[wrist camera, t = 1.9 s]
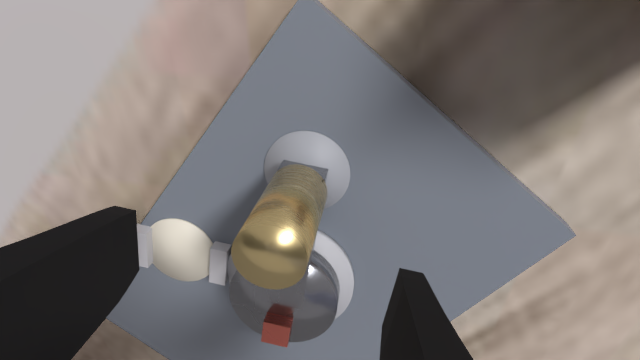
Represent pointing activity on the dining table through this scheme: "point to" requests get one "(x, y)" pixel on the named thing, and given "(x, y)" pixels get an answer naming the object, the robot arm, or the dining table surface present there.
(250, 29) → the dining table surface
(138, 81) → the dining table surface
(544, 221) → the plate
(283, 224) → the brass crank handle
